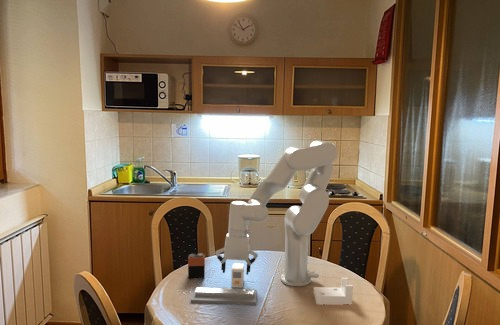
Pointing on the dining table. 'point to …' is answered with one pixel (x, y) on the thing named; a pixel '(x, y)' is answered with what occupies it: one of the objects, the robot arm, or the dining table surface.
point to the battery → (196, 266)
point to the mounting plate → (224, 299)
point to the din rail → (224, 292)
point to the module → (237, 275)
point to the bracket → (334, 294)
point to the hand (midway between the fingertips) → (235, 272)
